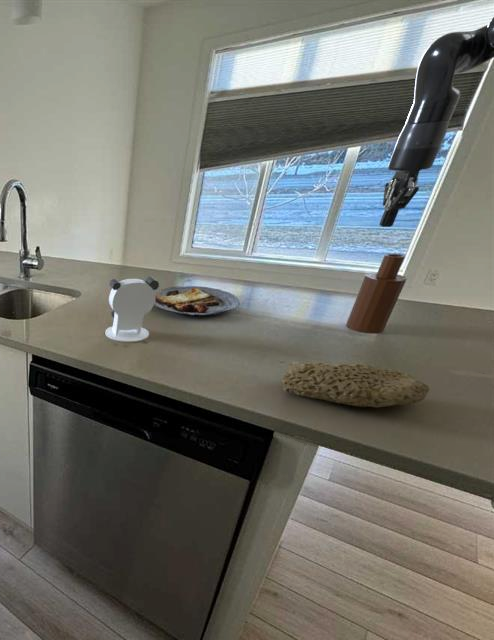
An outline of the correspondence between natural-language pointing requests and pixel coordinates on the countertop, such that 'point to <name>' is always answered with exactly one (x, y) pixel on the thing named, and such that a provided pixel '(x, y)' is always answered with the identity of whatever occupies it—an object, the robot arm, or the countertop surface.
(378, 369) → the sponge
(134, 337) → the panda figurine
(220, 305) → the food plate
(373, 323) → the bottle
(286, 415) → the countertop surface
